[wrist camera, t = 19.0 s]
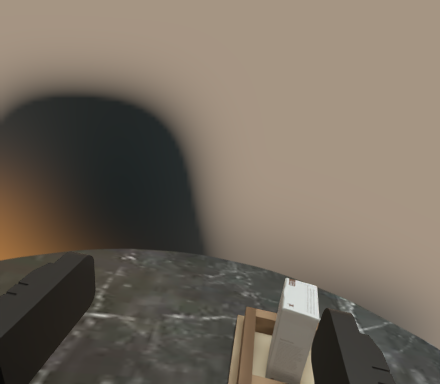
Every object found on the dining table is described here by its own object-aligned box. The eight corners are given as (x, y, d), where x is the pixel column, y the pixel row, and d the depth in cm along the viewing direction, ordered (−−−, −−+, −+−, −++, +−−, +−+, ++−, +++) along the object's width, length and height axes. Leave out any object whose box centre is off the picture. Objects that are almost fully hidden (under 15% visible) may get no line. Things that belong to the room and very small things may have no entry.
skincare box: (297, 395, 34) (323, 322, 30) (261, 381, 35) (281, 309, 31) (298, 352, 40) (320, 285, 35) (268, 342, 41) (285, 275, 36)
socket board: (223, 413, 32) (228, 390, 31) (236, 320, 45) (240, 300, 44) (346, 447, 31) (358, 424, 29) (324, 340, 44) (331, 320, 42)
